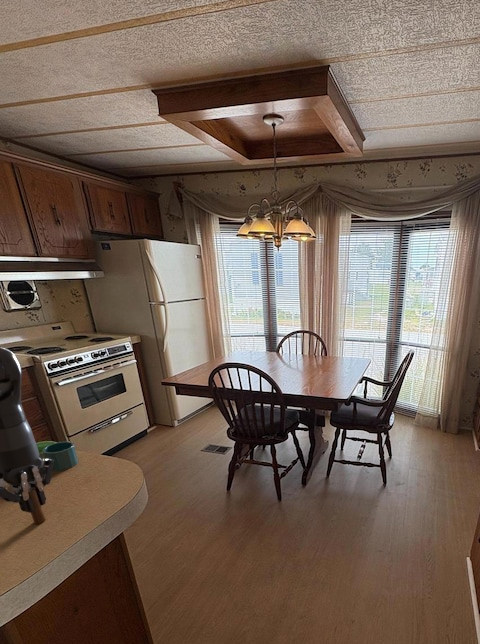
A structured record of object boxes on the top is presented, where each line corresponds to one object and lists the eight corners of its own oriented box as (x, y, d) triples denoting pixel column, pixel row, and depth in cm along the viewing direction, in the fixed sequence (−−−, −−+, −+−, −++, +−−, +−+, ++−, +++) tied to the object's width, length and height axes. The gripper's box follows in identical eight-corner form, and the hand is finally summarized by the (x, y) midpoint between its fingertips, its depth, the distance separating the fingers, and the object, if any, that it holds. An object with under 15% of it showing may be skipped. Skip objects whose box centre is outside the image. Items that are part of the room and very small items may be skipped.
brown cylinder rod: (31, 523, 81) (20, 491, 78) (40, 517, 83) (29, 486, 80) (39, 525, 81) (28, 493, 77) (48, 519, 83) (37, 487, 79)
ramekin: (30, 455, 110) (26, 443, 108) (64, 451, 113) (60, 439, 112) (20, 469, 102) (16, 456, 100) (57, 464, 106) (53, 451, 104)
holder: (43, 473, 100) (35, 451, 98) (65, 461, 107) (59, 440, 104) (64, 477, 99) (58, 454, 96) (85, 464, 106) (79, 443, 103)
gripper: (28, 427, 81) (48, 489, 87) (-40, 455, 68) (-10, 524, 75) (55, 431, 79) (74, 493, 86) (-9, 460, 67) (19, 530, 73)
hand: (35, 507), depth 80 cm, fingers closed on brown cylinder rod, 2 cm apart
